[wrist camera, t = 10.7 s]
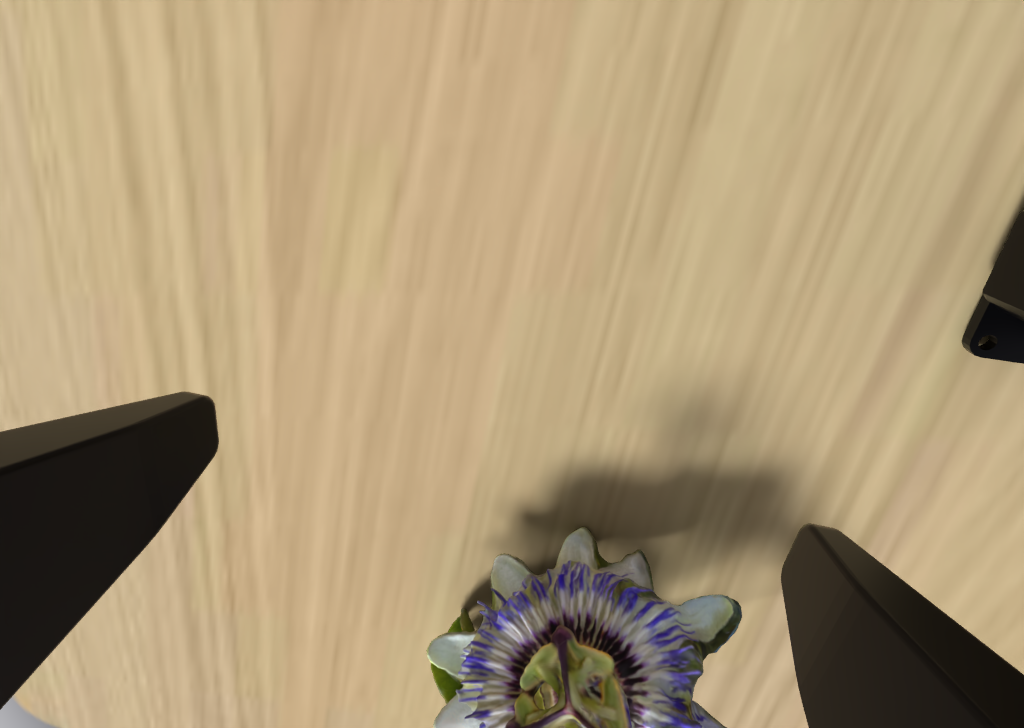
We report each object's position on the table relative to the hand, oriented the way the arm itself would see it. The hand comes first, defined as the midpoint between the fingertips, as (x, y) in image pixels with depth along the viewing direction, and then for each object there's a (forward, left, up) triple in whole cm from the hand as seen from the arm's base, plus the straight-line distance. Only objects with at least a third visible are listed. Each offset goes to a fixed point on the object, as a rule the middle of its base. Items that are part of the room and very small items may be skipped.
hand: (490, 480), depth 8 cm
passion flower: (-3, +15, -12) cm, 20 cm away
